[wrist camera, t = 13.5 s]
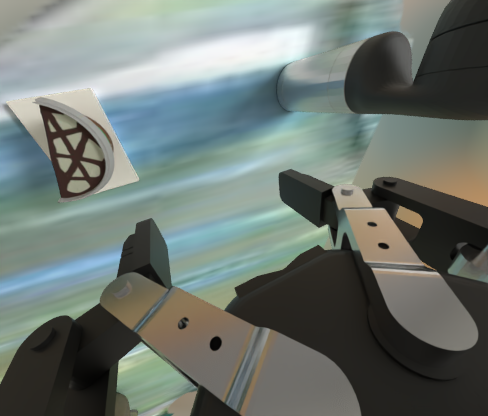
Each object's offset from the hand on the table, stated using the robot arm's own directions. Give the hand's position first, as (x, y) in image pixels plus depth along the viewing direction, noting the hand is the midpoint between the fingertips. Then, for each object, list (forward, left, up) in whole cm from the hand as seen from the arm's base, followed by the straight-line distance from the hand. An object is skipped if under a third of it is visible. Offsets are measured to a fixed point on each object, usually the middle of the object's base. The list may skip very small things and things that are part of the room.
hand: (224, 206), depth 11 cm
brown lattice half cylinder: (+12, -2, -29) cm, 31 cm away
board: (+14, -2, -30) cm, 33 cm away
